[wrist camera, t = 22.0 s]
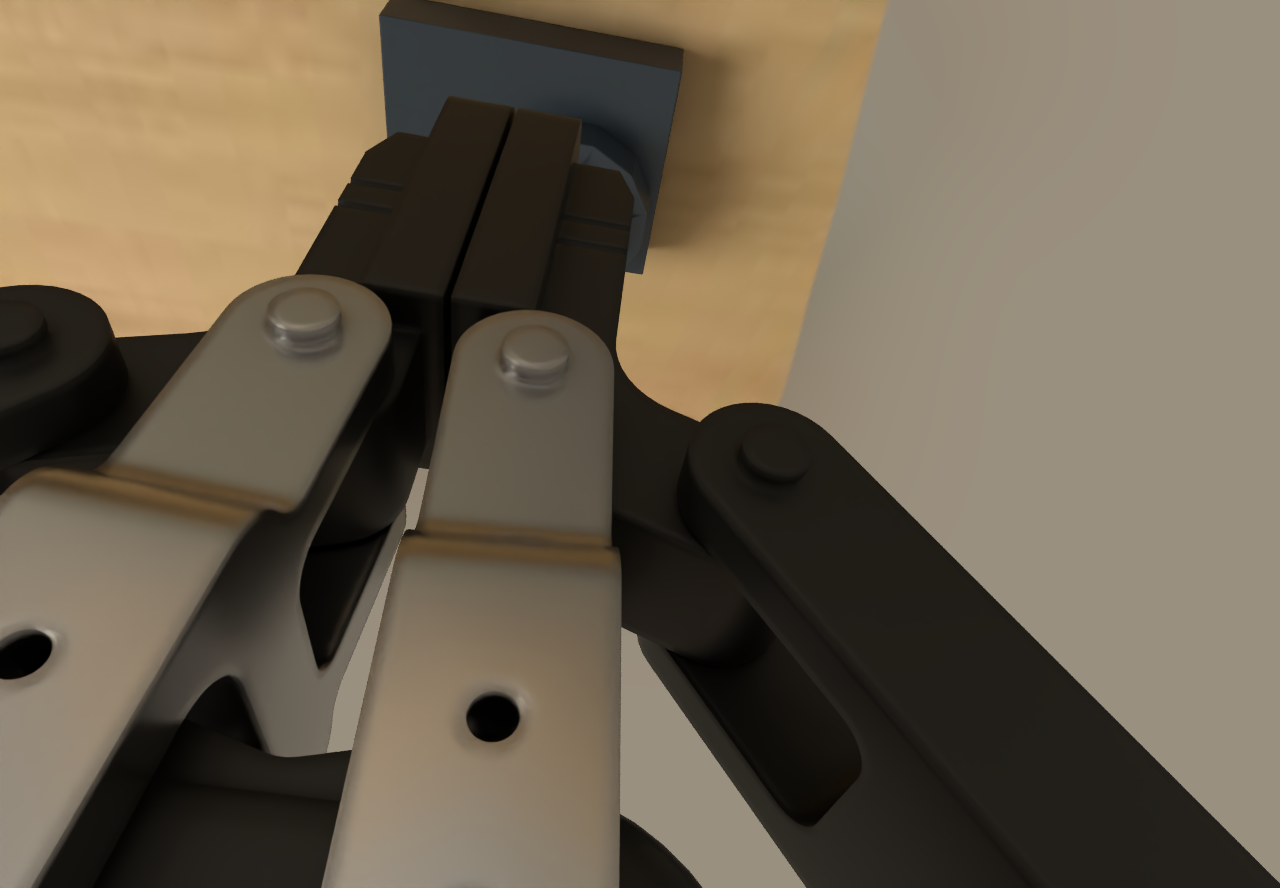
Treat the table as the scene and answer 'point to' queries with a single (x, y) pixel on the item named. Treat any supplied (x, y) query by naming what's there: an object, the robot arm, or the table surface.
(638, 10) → the table surface
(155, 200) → the table surface
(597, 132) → the button box
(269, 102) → the table surface
